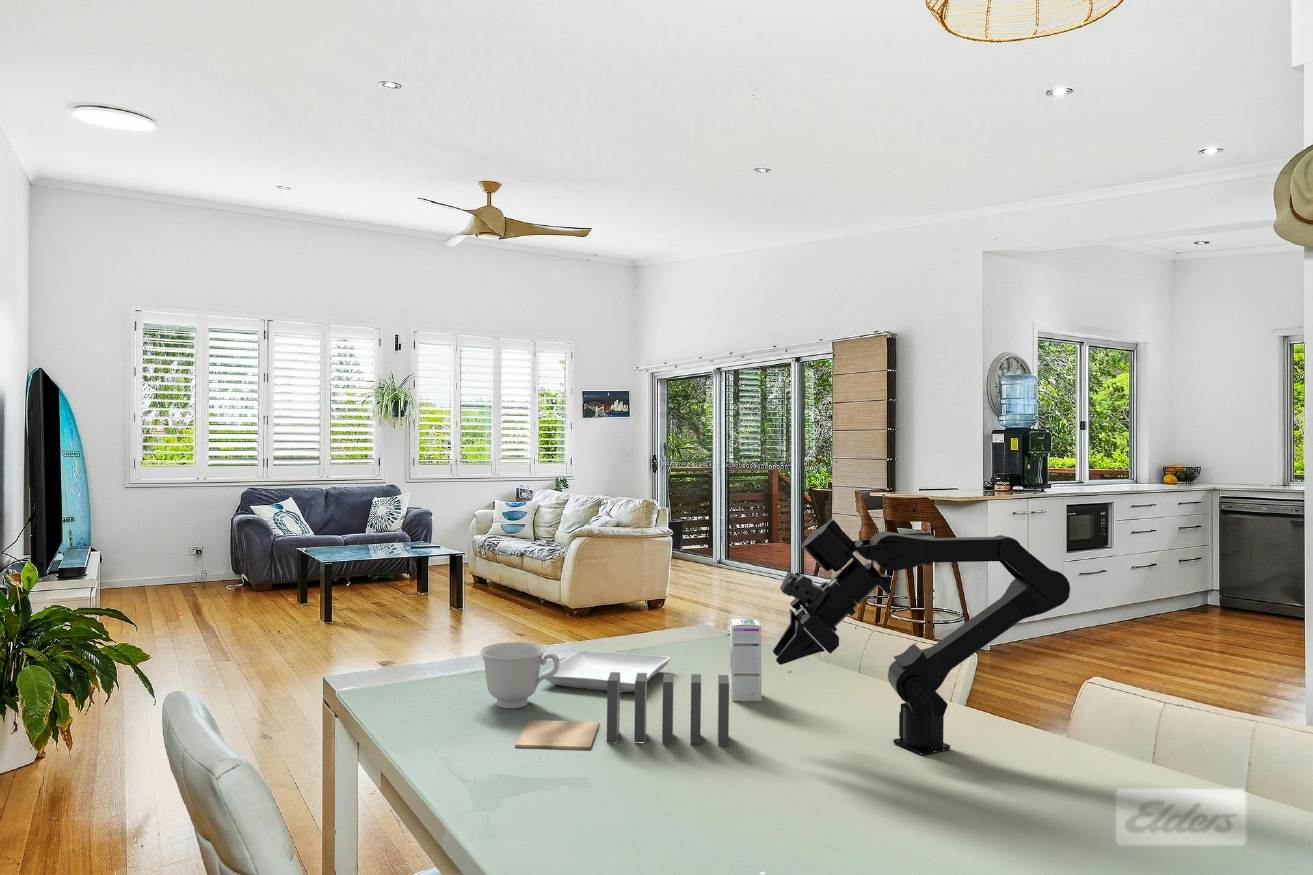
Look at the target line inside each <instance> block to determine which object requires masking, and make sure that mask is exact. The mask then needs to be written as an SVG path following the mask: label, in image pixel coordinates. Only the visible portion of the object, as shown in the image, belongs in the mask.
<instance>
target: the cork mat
mask: <svg viewBox="0 0 1313 875" xmlns="http://www.w3.org/2000/svg"><path fill="white" fill-rule="evenodd" d="M598 726H599V727H600V721H574V720H572V721H569V720H540V719H539V720H537V719H536V720H535V719H533V720H532V719H530V720H529V721H528V723H527V724H526V726H525V727H524V730H523V731H522V732H521V734H520V736H519V738H518V740H516V742H515V745H514V748H525V749H531V748H532V749H562V750H563V749H564V750H588V749H590V750H591V748H592V746H593V744H592V743H594V741H595V739H596V738H595V737H596V735H597V732H598V730H597V729H599V727H598ZM593 740H594V741H593Z"/></svg>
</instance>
